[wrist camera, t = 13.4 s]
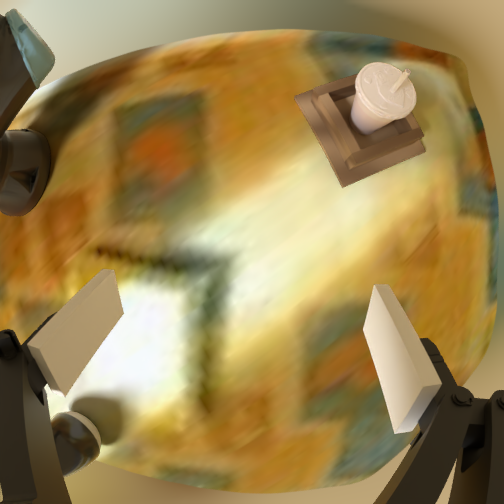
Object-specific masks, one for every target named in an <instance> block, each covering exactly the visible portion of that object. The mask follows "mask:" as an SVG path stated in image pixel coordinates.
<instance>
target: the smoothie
mask: <svg viewBox="0 0 504 504" xmlns="http://www.w3.org/2000/svg"><path fill="white" fill-rule="evenodd" d="M410 73H411V71H410V70H409V69H405V70H404V72H402V71H401V70H399V69H398V68H396V67H394V66H392V65H390V64H387V63H382V62H374V63H370V64H367V65H366V66H364V67H363V68H362V69H361V71H360V72H359V74H358V75H357V78H356V81H355V88H356V94H355V98H354V102H353V106H352V110H351V113H350V118H349V121H350V124H351V126H352V128H353V129H354V130H355V131H356V132H358V133H360V134H362V135H369V134H372V133H374V132H375V131H377V130H378V129H380V128H382V127H383V126H385V125H387V124H388V123H390V122H392V121H393V120H398V119H401V118H404V117H406V116H407V115H408V114H410V112H411V111H412V110H413V108H414V107H415V104H416V91H415V88H414V86H413V84H412V82H411V81H410V79H409V78H408V76H409V75H410Z"/></svg>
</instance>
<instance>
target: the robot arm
mask: <svg viewBox="0 0 504 504" xmlns="http://www.w3.org/2000/svg"><path fill="white" fill-rule="evenodd" d="M54 63H55V56H54V54H53V52H52V51H51V49H50V48H49V47H48V45H47V44H46V43H45V42H44V40H43V39H42V38H41V37H40V35H39V34H38V33H37V32H36V31H35V30H34V28H33V27H32V26H31V25H30V24H29V23H28V21H27V20H26V19H25V18H24V17H23V16H22V15H21V14H20V13H19V12H18V11H17V10H16V9H12V10H10V11H9V12H7V13H6V14H5V16H2V15H0V211H1V212H2V213H4V214H5V215H9V216H22V215H25V214H27V213H28V212H29V211H31V210H32V209H33V207H34V206H35V205H36V204H37V202H38V201H39V199H40V197H41V195H42V193H43V191H44V188H45V185H46V182H47V179H48V175H49V169H50V148H49V144H48V141H47V139H46V138H45V136H44V135H43V134H41V133H40V132H37V131H35V130H32V129H21V130H7V129H8V127H9V126H10V124H11V123H12V121H13V120H14V118H15V117H16V115H17V114H18V112H19V111H20V110H21V108H22V107H23V105H24V104H25V103H26V101H27V100H28V99H29V97H30V96H31V95H32V94H33V92H34V91H35V90H36V89H38V88H39V86H40V83H41V82H42V81H43V80H44V78H45V77H46V76H47V75H48V73H49V72H50V71H51V70H52V68H53V66H54ZM123 314H124V312H123V308H122V304H121V300H120V295H119V291H118V286H117V282H116V277H115V272H114V270H108V269H102V270H101V271H100V272H99V273H98V274H97V275H96V276H94V277H93V278H92V279H91V280H90V281H89V282H88V283H87V284H86V285H85V286H84V287H83V288H82V289H81V290H80V291H79V292H77V293H76V294H75V295H74V296H73V297H72V298H71V299H70V300H69V301H68V302H67V303H66V304H65V305H64V306H63V307H62V308H61V309H60V310H59V311H58V312H56V313H54V314H53V315H51V316H49V317H48V318H47V319H46V320H45V321H44V322H43V323H42V325H40V326H39V327H38V328H37V330H35V331H34V332H33V333H32V335H31V336H30V337H29V338H28V339H27V340H26V341H25V342H24V343H23V344H22V345H20V342H19V340H18V338H17V336H16V334H15V332H14V331H13V330H10V329H7V330H3V331H0V482H1V489H2V495H3V501H2V502H0V504H72V503H71V500H70V497H69V494H68V490H67V487H66V484H65V481H64V477H63V474H62V470H61V467H60V463H59V459H58V455H57V450H56V446H55V441H54V437H53V432H52V426H51V421H50V415H49V408H48V401H47V394H46V391H45V389H44V387H45V385H46V384H48V385H49V387H50V389H51V391H52V392H53V393H56V394H58V395H61V396H63V397H65V396H66V395H67V393H68V392H69V390H70V389H71V387H72V386H73V384H74V383H75V381H76V380H77V378H78V377H79V375H80V374H81V372H82V371H83V370H84V368H85V367H86V365H87V364H88V362H89V361H90V359H91V358H92V357H93V355H94V354H95V352H96V351H97V349H98V348H99V347H100V345H101V344H102V342H103V341H104V340H105V338H106V337H107V336H108V334H109V333H110V331H111V330H112V329H113V327H114V326H115V325H116V323H117V322H118V321H119V319H120V318H121V317H122V315H123ZM363 331H364V334H365V337H366V340H367V343H368V346H369V349H370V352H371V355H372V358H373V361H374V364H375V367H376V371H377V374H378V377H379V380H380V384H381V387H382V390H383V394H384V397H385V401H386V404H387V408H388V411H389V415H390V419H391V422H392V426H393V430H394V434H396V433H403V432H409V431H412V430H413V429H414V427H415V426H416V424H417V423H419V426H420V429H421V430H420V432H419V433H418V434H417V436H416V437H415V438H414V440H413V441H412V442H411V443H410V445H411V447H410V449H409V450H408V452H407V454H406V456H405V457H404V459H403V461H402V462H401V464H400V465H399V467H398V469H397V470H396V472H395V473H394V475H393V476H392V478H391V479H390V481H389V482H388V484H387V485H386V487H385V488H384V490H383V491H382V493H381V494H380V495H379V497H378V498H377V499H376V501H375V502H374V503H373V504H435V503H436V502H437V500H438V498H439V496H440V494H441V492H442V490H443V488H444V486H445V483H446V481H447V479H448V477H449V475H450V472H451V470H452V468H453V466H454V463H455V461H456V459H457V462H456V467H455V473H454V479H453V484H452V489H451V493H450V498H449V502H448V504H504V390H498V391H496V392H494V393H493V395H492V396H491V398H490V399H480V398H474V396H473V394H472V393H471V392H470V391H469V390H468V389H466V388H464V387H461V386H457V384H456V382H455V380H454V378H453V376H452V374H451V372H450V370H449V368H448V367H447V365H446V363H445V362H444V359H443V357H442V356H441V355H440V352H439V350H438V348H437V347H436V345H435V344H434V343H433V342H431V341H430V340H429V339H428V338H420V339H419V337H418V335H417V333H416V332H415V330H414V328H413V326H412V324H411V323H410V321H409V319H408V317H407V315H406V314H405V312H404V310H403V308H402V307H401V305H400V303H399V302H398V300H397V298H396V296H395V295H394V293H393V291H392V290H391V288H390V286H389V285H386V284H374V287H373V292H372V296H371V300H370V305H369V309H368V313H367V317H366V321H365V324H364V328H363Z"/></svg>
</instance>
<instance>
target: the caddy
mask: <svg viewBox="0 0 504 504" xmlns="http://www.w3.org/2000/svg"><path fill="white" fill-rule="evenodd" d="M357 75H358V74H356V75H352V76H349V77H346V78H342V79H339V80H336V81H333V82H330V83H327V84H324V85H321V86H318V87H315V88H314V89H313V90H310V91H307V92H304V93H302V94H299V95H296V96H295V97H294V99H295V101H296V102H297V104H298V106H299V107H300V109H301V111H302V113H303V114H304V116H305V118H306V120H307V121H308V123H309V125H310V127H311V128H312V130H313V132H314V134H315V136H316V138H317V139H318V141H319V143H320V145H321V147H322V149H323V151H324V152H325V154H326V156H327V158H328V160H329V162H330V164H331V166H332V168H333V170H334V172H335V174H336V176H337V178H338V180H339V182H340V184H341V186H342V188H343V187H346V186H348V185H350V184H352V183H355V182H357V181H359V180H361V179H364V178H366V177H368V176H370V175H373V174H375V173H377V172H380V171H382V170H384V169H387V168H389V167H391V166H393V165H396V164H398V163H400V162H403V161H405V160H407V159H410V158H412V157H415V156H417V155H419V154H422V153H424V152H425V149H424V147H423V145H422V143H421V141H420V139H421V138H422V137H424V134H423V132H422V130H421V129H420V127H419V125H418V123H417V121H416V120H415V118H414V116H413V114H412V112H410V114H408V115H407V116H406V117H404V118H401V119H398V120H393V121H392V122H390V123H388V124H387V125H385V126H383V127H382V128H380V129H378V130H377V131H375V132H374V133H372V134H369V135H362V134H360V133H358V132H356V131H355V130H354V129H353V128H352V126H351V124H350V121H349V118H350V113H351V110H352V106H353V102H354V98H355V94H356V88H355V81H356V78H357Z"/></svg>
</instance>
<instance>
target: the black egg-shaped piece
mask: <svg viewBox="0 0 504 504" xmlns="http://www.w3.org/2000/svg"><path fill="white" fill-rule="evenodd" d="M50 421H51V426H52V432H53V437H54V441H55V446H56V450H57V455H58V459H59V463H60V467H61V470H62V474H63V477H67V476H70V475H72V474H74V473H76V472H78V471H80V470H82V469H84V468H85V467H87V466H88V465H89V464H91V463H92V462H93V461H94V460H95V459H96V458H97V457H98V456H99V454H100V448H101V437H100V434H99V432H98V430H97V428H96V427H95V425H94V424H93V423H92V422H91V421H90V420H89V419H88V418H87V417H85V416H83V415H82V414H79V413H77V412H63V413H57V414H56V415H55V416H53V417H52V418H51V419H50Z"/></svg>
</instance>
